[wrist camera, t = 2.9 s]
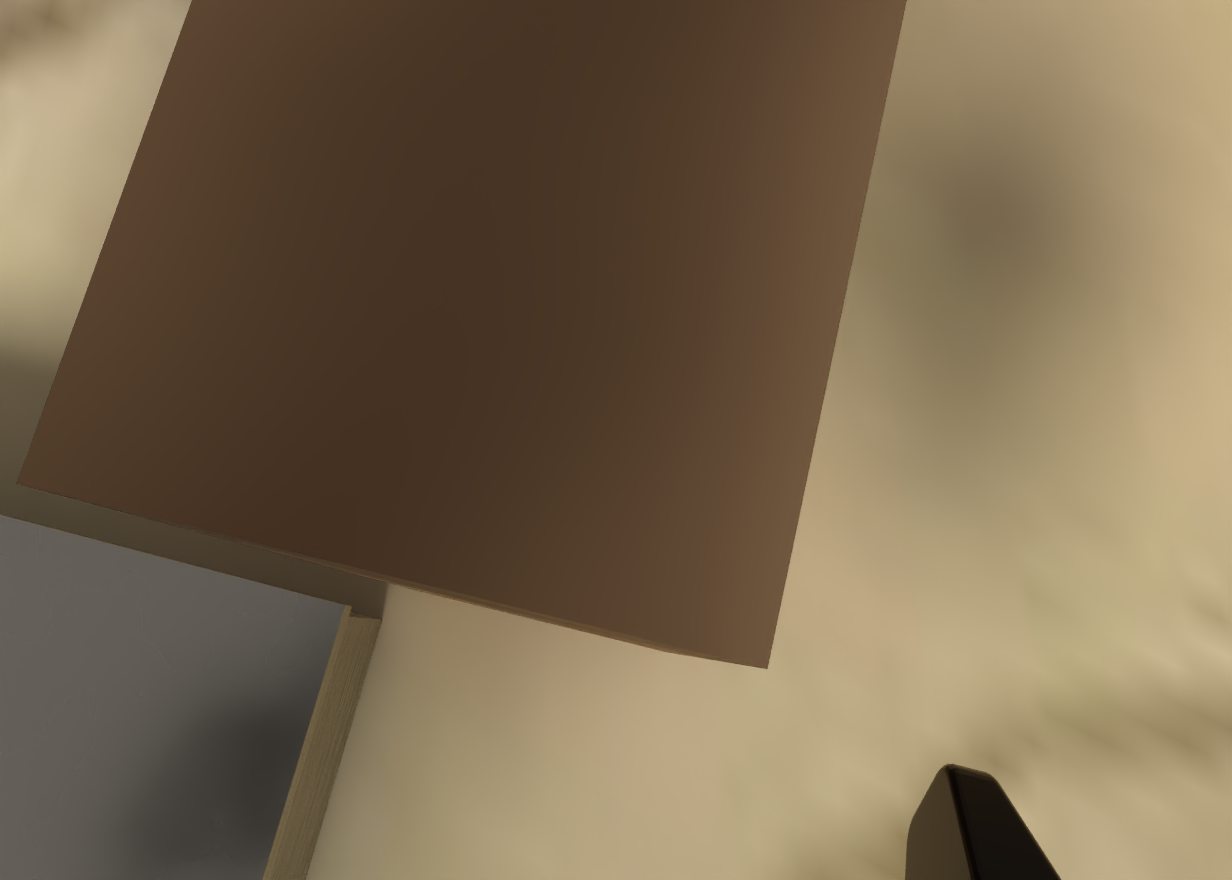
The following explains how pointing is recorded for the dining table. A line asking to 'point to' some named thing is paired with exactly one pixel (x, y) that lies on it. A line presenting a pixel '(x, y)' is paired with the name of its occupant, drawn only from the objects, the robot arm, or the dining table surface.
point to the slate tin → (164, 714)
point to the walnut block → (487, 298)
